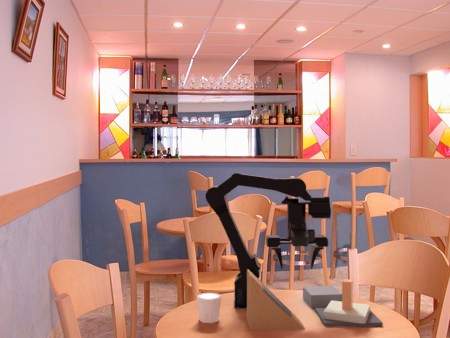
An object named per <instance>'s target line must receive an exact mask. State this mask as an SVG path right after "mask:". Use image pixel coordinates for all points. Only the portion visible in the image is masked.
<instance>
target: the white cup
mask: <svg viewBox="0 0 450 338" xmlns="http://www.w3.org/2000/svg"><path fill="white" fill-rule="evenodd" d="M221 300H222V296H221V294H219V293H216V292H204V293H199V294H197V295H196V301H197V302H196V303H197V310H198V311H197V312H198V321H199V320H200V321H201V322H200V321H199V322H200V323H203V324H212V323H213V324H214V323H217V322H219V320H220V309H221Z"/></svg>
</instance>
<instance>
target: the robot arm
mask: <svg viewBox="0 0 450 338" xmlns="http://www.w3.org/2000/svg"><path fill="white" fill-rule="evenodd" d="M238 186H241V187H248V188H254V189H255V188H256V189H262V190H270V191H274V192H275V191H276V192H279V193H281V194H284V195H285V197H284V198H283V199H282V200H281V204H282V205H286V206H287V207H286V209H287V210H286V211H287V212H286V216H287V217H286V219H287V220H286V221H287V222H286V237H280V236H279V235H278V234H276V235H275V234H272V235H269V234H268V235H266V236H265V245H266V247H267V248H270V250H273V251H274V253H275V254H276V258H277V260H278V264H279V266H280V270H281V269H282V270H283V268H284V267H283V265H284V264H283V259H282V258H283V257H282V247H281V245H292V247H295V248H296V247H297V248H298V247H308V246H309V245H310V259H309V268H310V269H312V270H313V267H314V264H315V262H316V259H317V256H318V254H319V252H321V250H325V248H326V247H329V238H328V237H326V236H325V235H324V234H316V231H315V229H313V228H312V229H310V228H309V229H307V223H306V222H307V215H308V216H310V217H311V219H313V220H314V219H316V220H317V219H321V220H322V219H325V220H326V219H327V220H330V219H331V217H332V216H331V215H332V208H331V201H330V196H312V195H311V193H309V192H308V191H307V184H306V182H305V181H304V180H303V179H302V178H300V177H284V178H283V177H280V178H275V177H267V176H260V175H255V174H254V175H252V174H246V173H241V172H235V173H233V174H232V175H230V177H229V178H227V179H226V180H225V181H224V182H222V183H221V184H219V185H214V186H212V187H210V188H208V189H207V191H206V193H205V200H206V202H207V204H208V205H209V207H210V208H211V209H212V211H213V212H214V213H215V214H216V215H217V217H218V218H219V221H220V223H221V225H222V228H223V229H224V232H225V234H226V236H227V239H228V241H229V242H230V245H231V247H232V249H233V251H234V254H235V256H236V258H237V259H236V260H237V265H238V269H239V273H238V274H237V275H236V276H235V278H234V282H233V284H234V286H233V287H234V288H233V289H234V292H233V293H234V297H233V299H234V300H233V305H234V306H233V307H234V309H247V269H248V270H250V271H251V272H252V273H253V274H254V275H255V276H256V277H257V278H258V279H259V280H260V274H261V266H262V264H261V263H260V261H259V260H258V255H257V254H256V253H253V254H251V252H250V251H249V249H248V248H247V245H246V243H245V241H244V238H243V236H242V234H241V233H240V230H239V228H238V225H237V224H236V221H235V219H234V217H233V215H232V212H231V210H230V205H229V199H228V196H227V195H228V194H229V193H230V192H232V191H233V190H234V189H235V188H237V187H238ZM288 196H290V197H288ZM291 197H293V198H291ZM299 198H301V199H302V200H304V201H299ZM306 214H307V215H306Z"/></svg>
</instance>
